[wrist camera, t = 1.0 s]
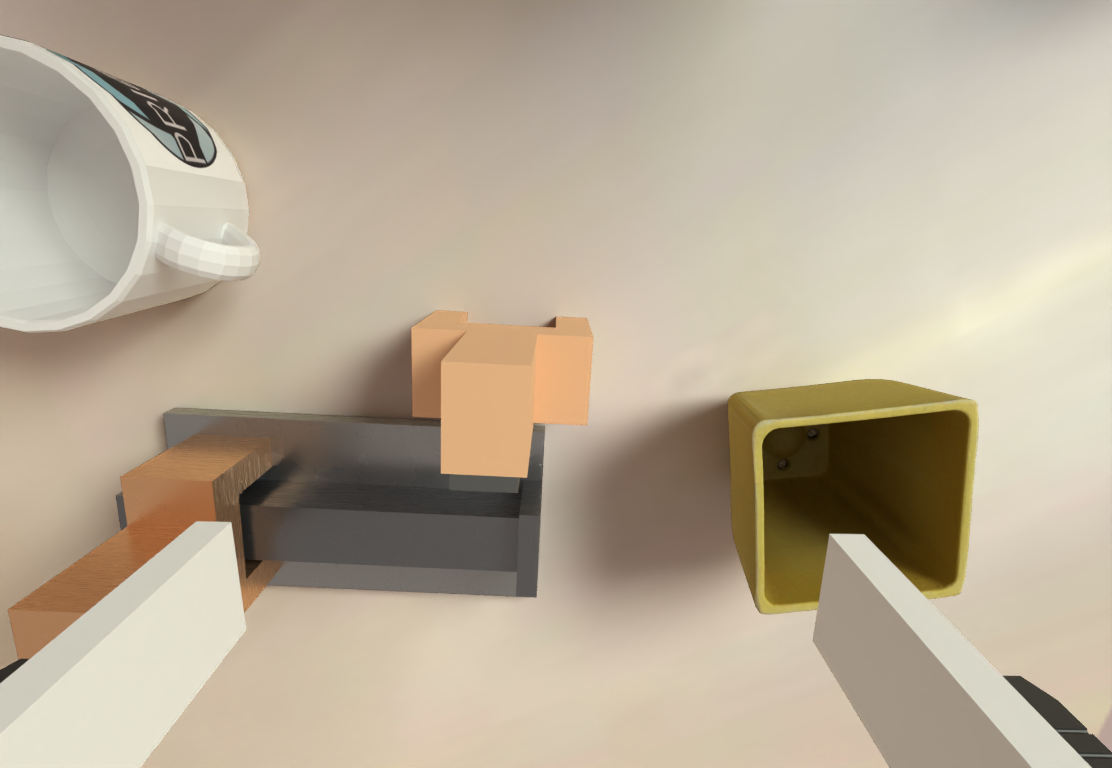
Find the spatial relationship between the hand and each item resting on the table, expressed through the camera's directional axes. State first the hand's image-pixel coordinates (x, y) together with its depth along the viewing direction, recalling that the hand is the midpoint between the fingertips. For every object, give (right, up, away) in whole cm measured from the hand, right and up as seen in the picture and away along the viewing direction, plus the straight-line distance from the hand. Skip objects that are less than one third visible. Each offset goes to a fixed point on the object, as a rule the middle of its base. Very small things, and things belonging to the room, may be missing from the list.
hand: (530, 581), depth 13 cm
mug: (-18, +13, +17) cm, 28 cm away
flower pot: (+13, +2, +20) cm, 23 cm away
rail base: (-10, -2, +20) cm, 23 cm away
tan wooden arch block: (-2, +6, +18) cm, 19 cm away
